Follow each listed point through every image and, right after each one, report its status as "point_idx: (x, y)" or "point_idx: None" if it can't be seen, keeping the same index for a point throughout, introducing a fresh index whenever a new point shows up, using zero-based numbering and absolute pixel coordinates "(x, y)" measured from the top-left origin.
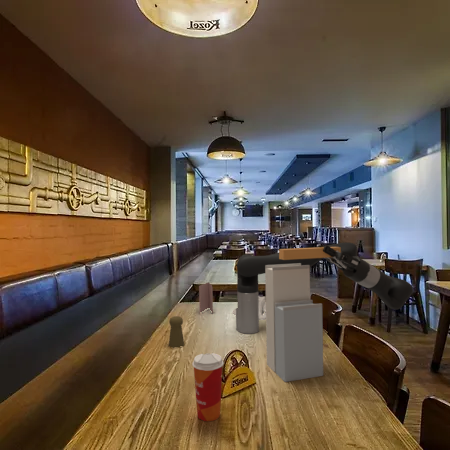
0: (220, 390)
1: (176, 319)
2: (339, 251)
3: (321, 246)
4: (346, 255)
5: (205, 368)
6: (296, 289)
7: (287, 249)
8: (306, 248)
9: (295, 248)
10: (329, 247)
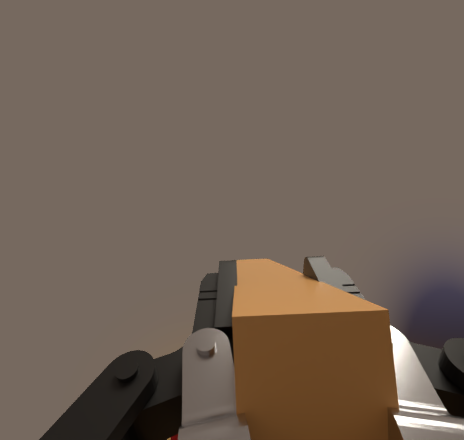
0: (174, 438)
1: None
2: (235, 375)
3: (307, 270)
4: (65, 427)
5: None
6: None
7: (242, 260)
8: (254, 266)
9: (274, 262)
10: (219, 279)
